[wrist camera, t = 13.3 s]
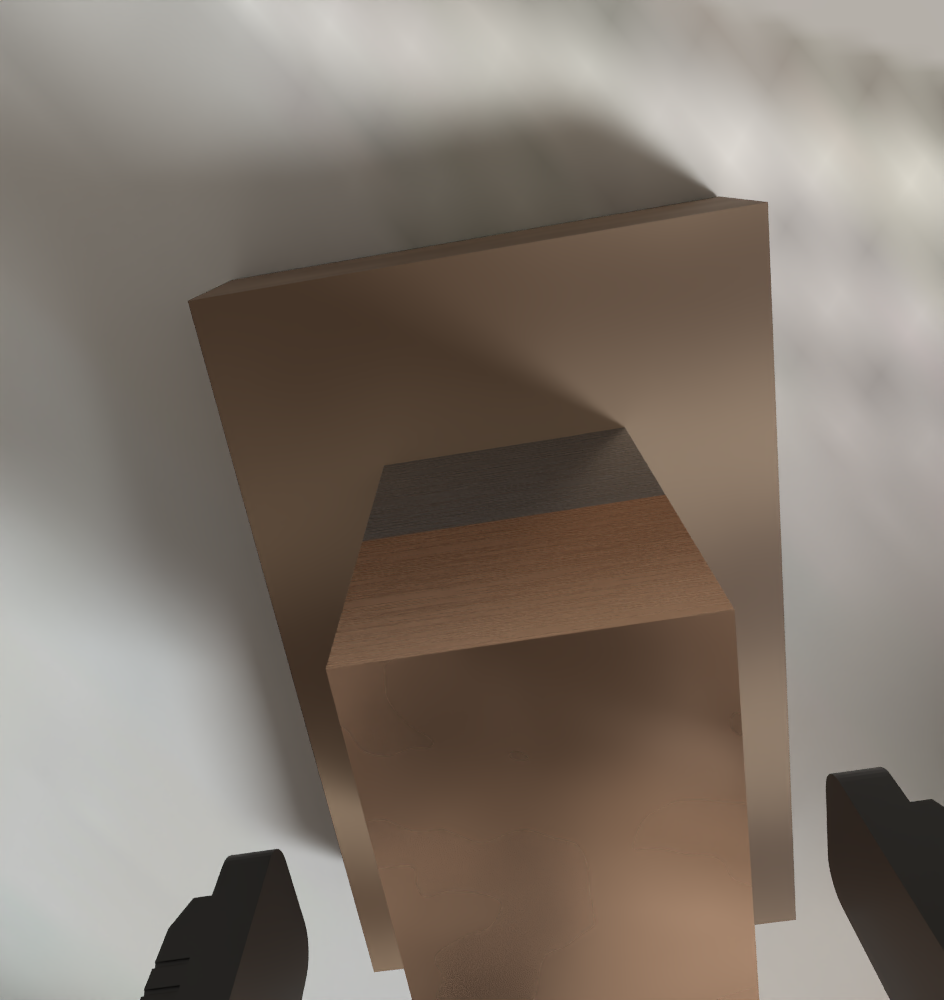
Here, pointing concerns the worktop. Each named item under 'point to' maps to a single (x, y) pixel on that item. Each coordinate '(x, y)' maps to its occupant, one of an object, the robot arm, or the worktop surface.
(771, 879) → the walnut stand
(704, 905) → the block
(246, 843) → the worktop surface
